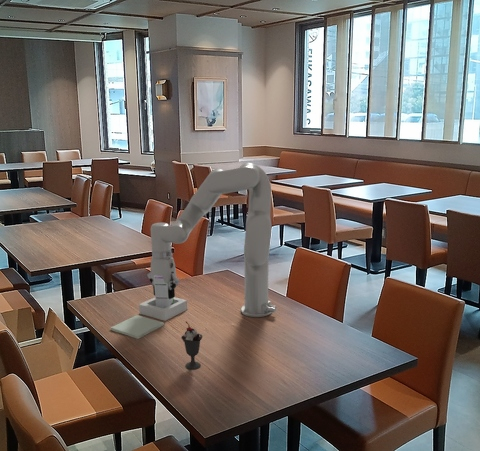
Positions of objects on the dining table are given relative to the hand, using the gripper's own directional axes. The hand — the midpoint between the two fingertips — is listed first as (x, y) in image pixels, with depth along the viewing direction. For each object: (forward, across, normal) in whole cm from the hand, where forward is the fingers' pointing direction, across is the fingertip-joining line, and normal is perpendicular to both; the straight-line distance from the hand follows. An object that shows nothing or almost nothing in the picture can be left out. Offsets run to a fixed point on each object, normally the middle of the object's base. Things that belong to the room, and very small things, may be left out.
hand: (164, 295), depth 210 cm
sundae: (+7, -38, +30) cm, 48 cm away
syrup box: (+5, 0, 0) cm, 5 cm away
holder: (+7, 0, 0) cm, 7 cm away
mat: (+7, -2, +18) cm, 19 cm away
